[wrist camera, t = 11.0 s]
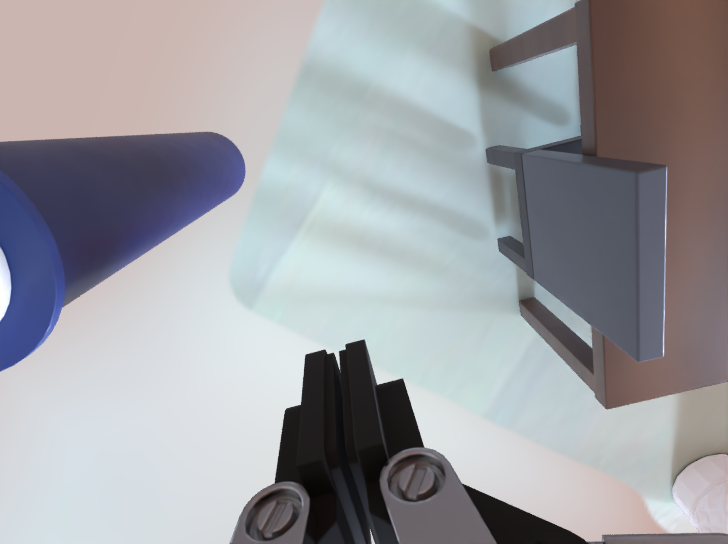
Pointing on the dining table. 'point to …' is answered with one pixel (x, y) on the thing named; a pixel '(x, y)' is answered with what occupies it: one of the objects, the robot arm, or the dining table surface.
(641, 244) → the chair
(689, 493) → the white cup
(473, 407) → the dining table surface
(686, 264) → the desk
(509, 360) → the dining table surface
